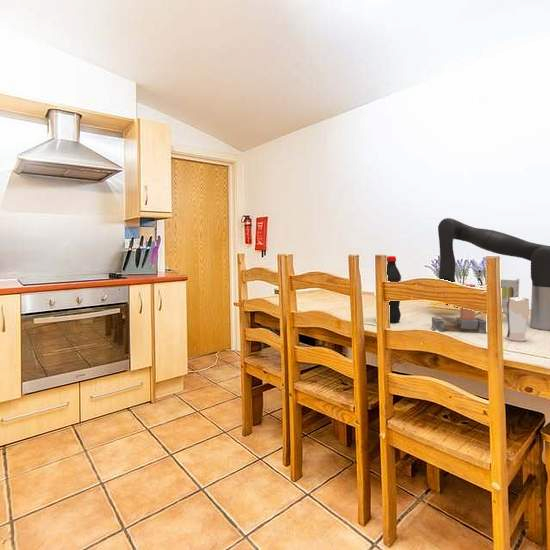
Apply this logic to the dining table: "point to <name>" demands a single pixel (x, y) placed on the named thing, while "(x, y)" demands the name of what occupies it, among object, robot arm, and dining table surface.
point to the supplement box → (509, 290)
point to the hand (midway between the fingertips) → (468, 304)
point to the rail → (456, 325)
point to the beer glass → (517, 318)
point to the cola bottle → (393, 277)
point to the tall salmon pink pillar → (467, 317)
